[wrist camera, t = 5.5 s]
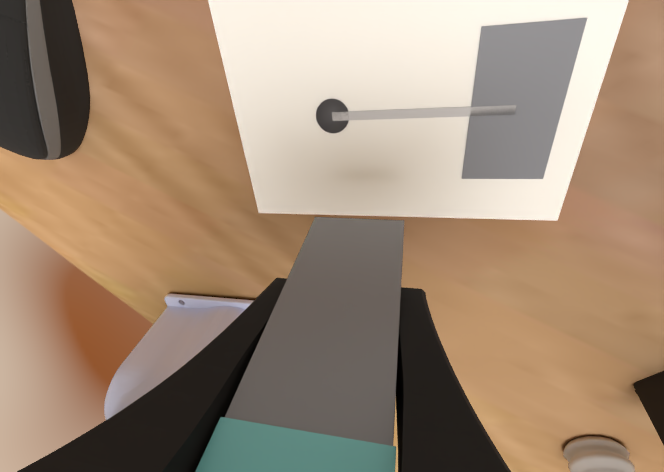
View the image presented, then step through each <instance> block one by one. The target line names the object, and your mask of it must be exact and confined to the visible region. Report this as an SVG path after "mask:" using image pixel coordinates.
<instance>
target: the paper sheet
mask: <svg viewBox="0 0 664 472" xmlns="http://www.w3.org/2000/svg"><path fill="white" fill-rule="evenodd" d="M628 1H629V0H208V2H209V6H210V10H211V15H212V19H213V23H214V27H215V31H216V36H217V40H218V44H219V48H220V52H221V57H222V61H223V65H224V69H225V73H226V78H227V82H228V86H229V90H230V94H231V98H232V103H233V107H234V111H235V115H236V119H237V124H238V128H239V132H240V136H241V140H242V145H243V149H244V153H245V157H246V161H247V166H248V170H249V174H250V178H251V182H252V187H253V191H254V195H255V199H256V203H257V208H258V212H259V213H278V214H318V215H357V216H397V217H437V218H476V219H516V220H556V221H557V220H558V217H559V214H560V211H561V208H562V205H563V202H564V199H565V195H566V192H567V189H568V186H569V183H570V180H571V177H572V174H573V171H574V168H575V165H576V162H577V158H578V155H579V152H580V149H581V146H582V143H583V140H584V137H585V134H586V131H587V128H588V125H589V121H590V118H591V115H592V112H593V109H594V106H595V103H596V100H597V97H598V94H599V91H600V87H601V84H602V81H603V78H604V75H605V72H606V69H607V66H608V63H609V60H610V57H611V54H612V50H613V47H614V44H615V41H616V38H617V35H618V32H619V29H620V26H621V23H622V20H623V17H624V13H625V10H626V7H627V4H628Z"/></svg>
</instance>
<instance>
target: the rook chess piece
mask: <svg viewBox="0 0 664 472" xmlns="http://www.w3.org/2000/svg"><path fill="white" fill-rule="evenodd" d="M629 454H630V453H629V452H628V451H627V449H626V448H625V447H623V446H622V445H621V444H619V443H618V442H616V441H614V440H612V439H610V438H605V437H601V436H585V437H579V438H576V439H574V440H571V441H570V442H569V443H568V444H567V445H566V447H565V449H564V457H565V458H566V459H567V460H568V461H569V464H568V468H569V470H570V471H571V472H635V467H634V465H633V464H632V462H631V461H630V460H628V459H629Z"/></svg>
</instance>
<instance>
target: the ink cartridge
mask: <svg viewBox="0 0 664 472" xmlns="http://www.w3.org/2000/svg"><path fill="white" fill-rule="evenodd" d="M634 388H635V392H636V393H637V394H638V396H639V398H640V400H641V402H642V404H643V406H644V408H645V410H646V412H647V414H648V415H649V417H650V419H651V421H652V423H653V425H654V427H655V429H656V431H657V433H658V435H659V437H660V439H661V441H662V443H663V445H664V371H663V372H660V373H658V374H655V375H653V376H650V377H648V378H645V379H643V380H640V381H638V382H636V383H635V384H634Z"/></svg>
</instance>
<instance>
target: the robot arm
mask: <svg viewBox="0 0 664 472" xmlns="http://www.w3.org/2000/svg"><path fill="white" fill-rule="evenodd" d="M286 280H287V279H284V278H276V279H275V280H274V281H273V282H272V283H271V284H270V285H269V286H268V287H267V288H266V289H265V290H264V291H263V292H262V293H261V294H260V295H259V296H258V297H257V298H256V299H255V300H242V299H230V298H218V297H205V296H193V295H181V294H167V296H166V297H165V302H166V304H167V306H168V307H167V308H166V309H165V310H164V312H163V313H162V314H161V315H160V317H159V318H158V319H157V320H156V322H155V323H154V324H153V325H152V327H151V328H150V329H149V330H148V332H147V333H146V334H145V335H144V337H143V338H142V339H141V341H140V342H139V343H138V344H137V345H136V347H135V348H134V349H133V350H132V352H131V353H130V354H129V356H128V357H127V358H126V359H125V361H124V362H123V363H122V364H121V366H120V367H119V369H118V370H117V372H116V374H115V375H114V377H113V379H112V381H111V384H110V386H109V389H108V392H107V395H106V400H105V410H104V411H105V418H106V421H104V422H103V423H101V424H99V425H98V426H96V427H95V428H93V429H91V430H90V431H88V432H86V433H85V434H83V435H81V436H80V437H78V438H76V439H75V440H73V441H71V442H70V443H68V444H66V445H65V446H63V447H61V448H59V449H58V450H56V451H54V452H52V453H51V454H49V455H47V456H45V457H43V458H42V459H40V460H38V461H36V462H34V463H32V464H30V465H29V466H27V467H25V468H23V469H21V470H19V471H17V472H195V471H196V469H197V467H198V465H199V463H200V460H201V458H202V456H203V454H204V452H205V450H206V447H207V445H208V443H209V441H210V439H211V437H212V434H213V432H214V430H215V428H216V426H217V424H218V421H219V419H220V417H225V415H226V413H227V411H228V409H229V406H230V404H231V402H232V400H233V397H234V395H235V393H236V391H237V389H238V386H239V384H240V382H241V380H242V378H243V375H244V373H245V371H246V369H247V367H248V364H249V362H250V360H251V358H252V355H253V353H254V351H255V349H256V347H257V344H258V342H259V340H260V338H261V336H262V333H263V331H264V329H265V327H266V325H267V322H268V320H269V318H270V316H271V313H272V311H273V309H274V307H275V305H276V302H277V300H278V298H279V296H280V294H281V291H282V289H283V287H284V285H285V283H286ZM396 409H397V435H398V472H511V471H510V469H509V468H508V466H507V465H506V463H505V462H504V460H503V458H502V457H501V455H500V454H499V452H498V450H497V449H496V447H495V445H494V444H493V442H492V441H491V439H490V437H489V436H488V434H487V432H486V431H485V429H484V427H483V425H482V424H481V422H480V420H479V419H478V417H477V415H476V413H475V411H474V410H473V408H472V406H471V404H470V402H469V400H468V399H467V397H466V395H465V393H464V391H463V389H462V387H461V385H460V383H459V381H458V379H457V377H456V375H455V373H454V371H453V369H452V367H451V364H450V362H449V360H448V358H447V355H446V353H445V351H444V348H443V346H442V344H441V341H440V339H439V337H438V334H437V331H436V329H435V326H434V323H433V320H432V317H431V314H430V311H429V308H428V304H427V300H426V295H425V292H424V291H423V290H422V289H414V288H401V297H400V316H399V336H398V357H397V378H396Z"/></svg>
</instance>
